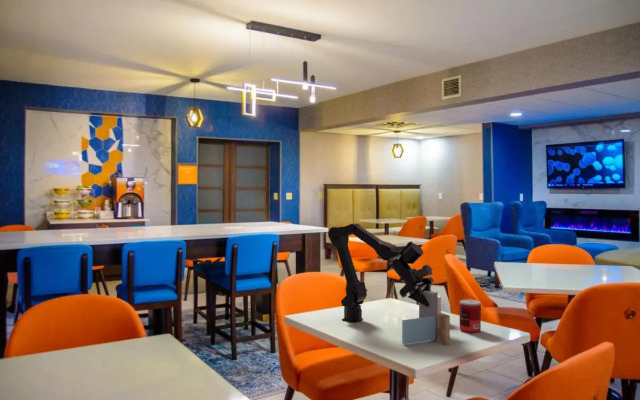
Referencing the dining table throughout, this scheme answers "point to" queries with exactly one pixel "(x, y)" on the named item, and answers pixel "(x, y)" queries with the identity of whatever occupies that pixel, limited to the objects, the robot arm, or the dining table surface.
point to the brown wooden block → (443, 328)
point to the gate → (419, 330)
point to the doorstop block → (433, 302)
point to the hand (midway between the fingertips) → (431, 304)
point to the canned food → (470, 316)
